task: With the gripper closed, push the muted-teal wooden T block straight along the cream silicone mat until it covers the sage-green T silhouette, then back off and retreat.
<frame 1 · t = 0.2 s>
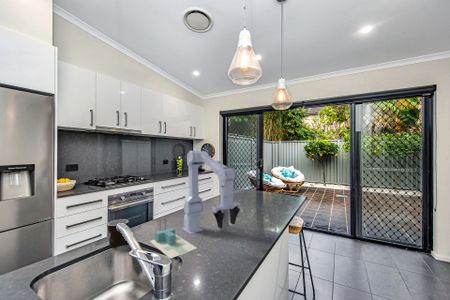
hand: (226, 225, 87), 10 cm above the counter, fingers open, 7 cm apart
mat: (172, 245, 89), on the counter
tee block: (165, 239, 94), resting on mat
coffee mug: (117, 246, 88), on the counter
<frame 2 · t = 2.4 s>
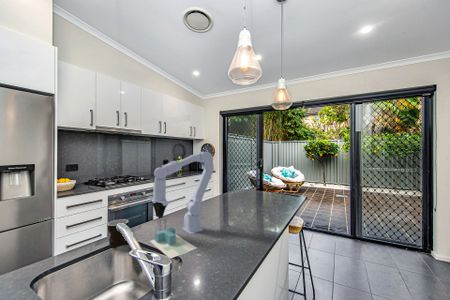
hand: (159, 217, 100), 9 cm above the counter, fingers closed
nothing on the counter moved.
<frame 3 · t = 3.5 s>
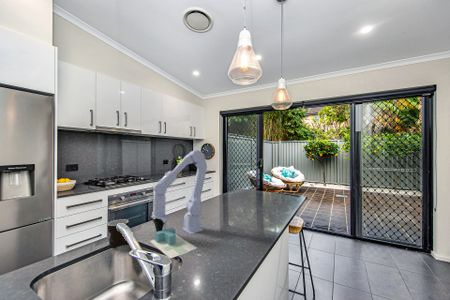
hand: (159, 232, 99), 1 cm above the counter, fingers closed
nothing on the counter moved.
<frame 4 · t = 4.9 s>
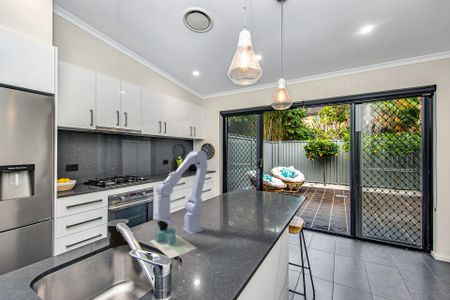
hand: (163, 235, 96), 1 cm above the counter, fingers closed, pressing on tee block
tee block: (165, 238, 94), point 1 cm above the counter, touching gripper, mat
everything else where it was.
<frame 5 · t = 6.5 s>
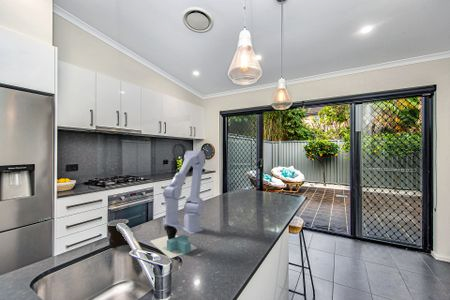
hand: (171, 241, 90), 1 cm above the counter, fingers closed
tee block: (177, 247, 86), resting on mat
everything else where it was.
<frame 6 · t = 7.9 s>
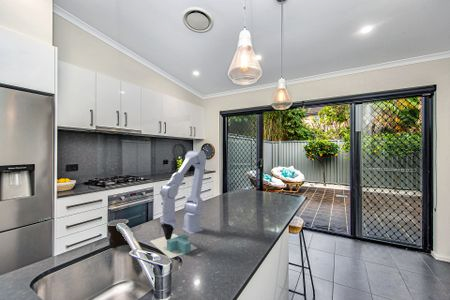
hand: (168, 239, 92), 1 cm above the counter, fingers closed
nothing on the counter moved.
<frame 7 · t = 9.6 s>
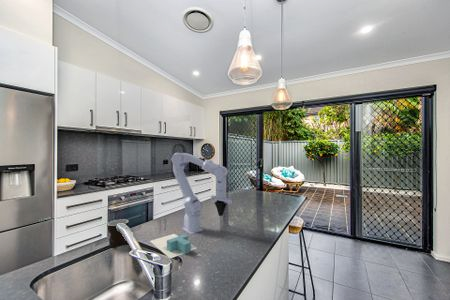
hand: (220, 215, 102), 10 cm above the counter, fingers closed
nothing on the counter moved.
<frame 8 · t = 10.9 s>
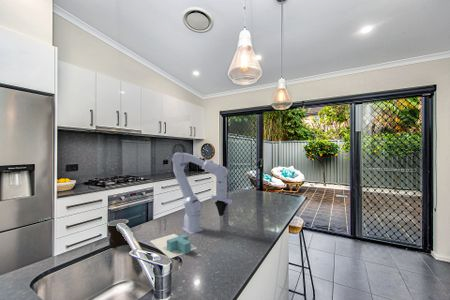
hand: (221, 215, 102), 10 cm above the counter, fingers closed
nothing on the counter moved.
at the end: tee block 2.0 cm from the target spot, resting on mat; tee block tilted 0°; tee block moved 11.5 cm from its start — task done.
